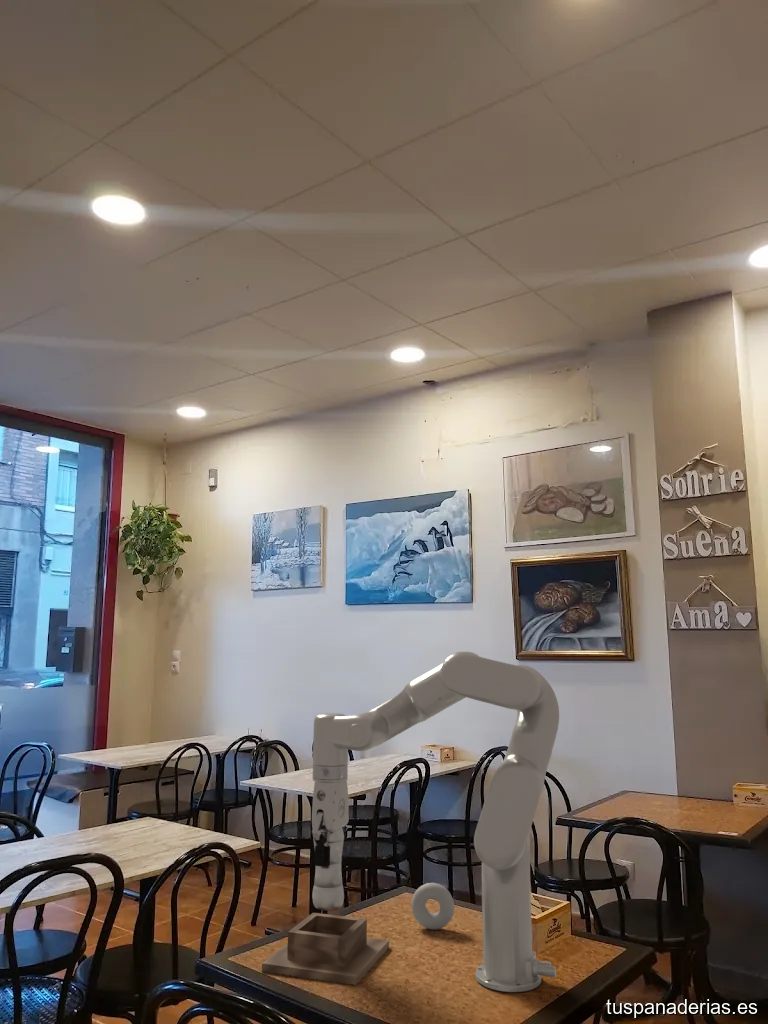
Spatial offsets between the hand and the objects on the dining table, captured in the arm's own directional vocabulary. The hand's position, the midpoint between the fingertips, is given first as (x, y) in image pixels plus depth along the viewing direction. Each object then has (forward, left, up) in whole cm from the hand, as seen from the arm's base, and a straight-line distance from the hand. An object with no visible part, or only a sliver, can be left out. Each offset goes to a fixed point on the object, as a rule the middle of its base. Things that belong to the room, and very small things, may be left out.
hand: (328, 861), depth 162 cm
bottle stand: (0, 0, -19) cm, 19 cm away
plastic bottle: (0, 0, -10) cm, 10 cm away
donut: (-16, -24, -19) cm, 35 cm away
